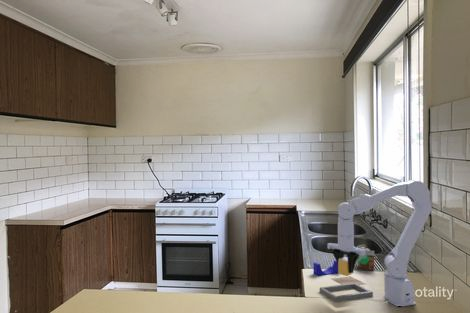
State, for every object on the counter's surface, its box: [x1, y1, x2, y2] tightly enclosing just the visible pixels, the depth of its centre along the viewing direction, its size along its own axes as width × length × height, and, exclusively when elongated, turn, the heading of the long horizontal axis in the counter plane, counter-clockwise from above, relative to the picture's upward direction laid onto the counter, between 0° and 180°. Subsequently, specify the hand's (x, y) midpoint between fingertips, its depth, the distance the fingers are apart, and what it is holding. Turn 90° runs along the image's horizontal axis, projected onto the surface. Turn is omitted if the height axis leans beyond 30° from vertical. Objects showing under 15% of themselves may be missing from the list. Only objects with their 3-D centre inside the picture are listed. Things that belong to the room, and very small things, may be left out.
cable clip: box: [313, 259, 338, 277], centre depth 149 cm, size 12×4×6 cm, turn 109°
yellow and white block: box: [337, 256, 354, 277], centre depth 127 cm, size 4×5×6 cm
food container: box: [356, 244, 376, 272], centre depth 159 cm, size 12×6×10 cm, turn 178°
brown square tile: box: [331, 275, 366, 286], centre depth 138 cm, size 10×10×1 cm
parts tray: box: [319, 283, 374, 303], centre depth 125 cm, size 10×16×2 cm, turn 109°
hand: (345, 271), depth 127 cm, fingers closed on yellow and white block, 3 cm apart
